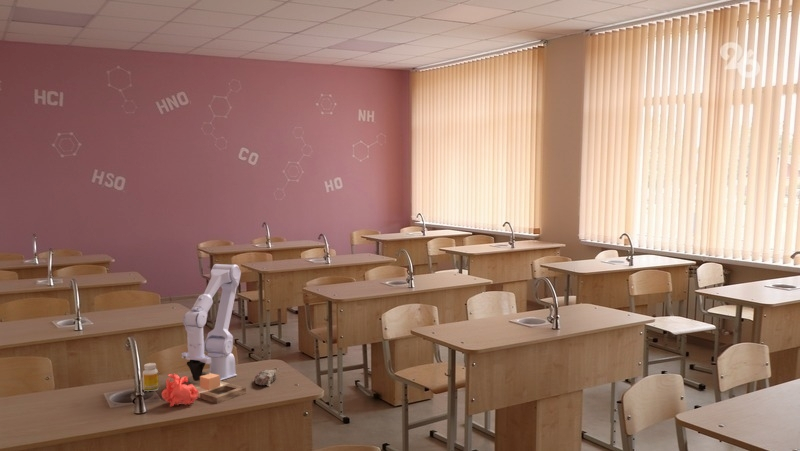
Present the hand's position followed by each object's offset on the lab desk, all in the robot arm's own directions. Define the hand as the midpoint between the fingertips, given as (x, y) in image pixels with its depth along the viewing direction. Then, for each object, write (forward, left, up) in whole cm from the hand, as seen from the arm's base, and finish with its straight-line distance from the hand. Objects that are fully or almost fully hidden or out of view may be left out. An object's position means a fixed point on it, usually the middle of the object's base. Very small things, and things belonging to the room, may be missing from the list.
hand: (197, 380), depth 250 cm
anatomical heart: (+14, +10, -3) cm, 18 cm away
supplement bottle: (+11, -13, -3) cm, 17 cm away
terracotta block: (0, +7, -1) cm, 7 cm away
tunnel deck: (0, +5, -3) cm, 6 cm away
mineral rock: (-20, +15, -4) cm, 25 cm away
